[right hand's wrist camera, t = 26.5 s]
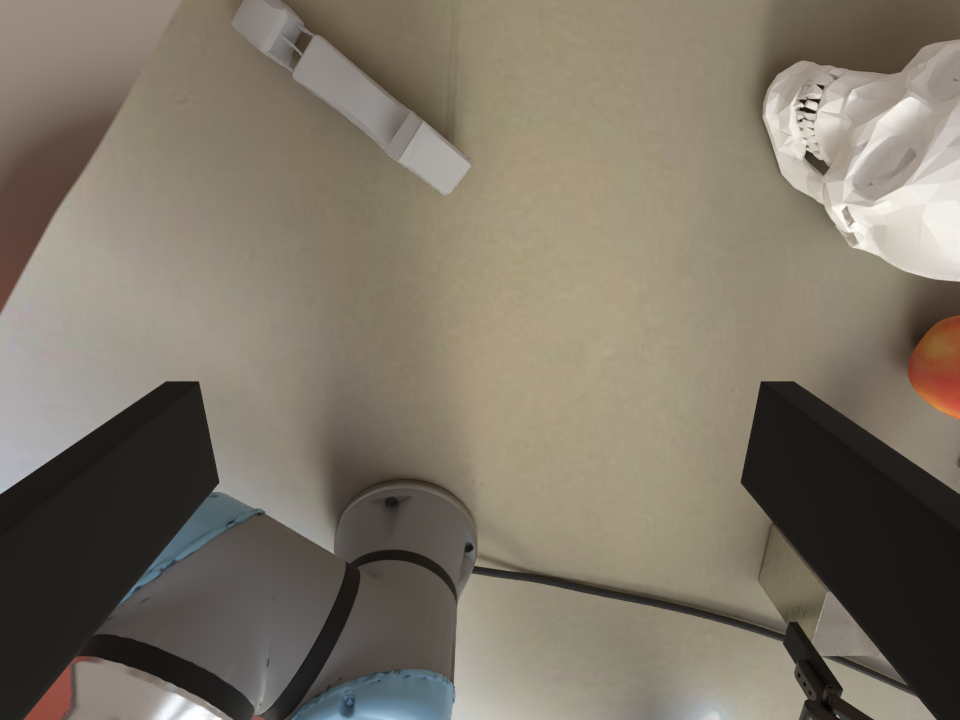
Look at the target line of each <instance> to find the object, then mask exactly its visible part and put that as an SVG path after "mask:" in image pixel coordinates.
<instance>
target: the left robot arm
mask: <svg viewBox="0 0 960 720" xmlns="http://www.w3.org/2000/svg"><path fill="white" fill-rule="evenodd" d="M783 645H784V646H785V648H786V649H787V651H788V653H789V654H790V656H791V658H792V659H793V661H794V662H795V664H796V667H795V671H794V674H795V678H796V680H797V681H798V683H799V685H800V686H801V688H802V690H803V691H804V693H805V695H806V696H807V698H808V700H806V701H805V702H804V705H803V708H802V712H801V715H800V718H799V720H873V719H872V718H870V717H869V716H867V715H866V714H864V713H863V712H861V711H859V710H858V709H856V708H855V707H853V706H852V705H850V704H849V703H847V702H846V701H844V700H843V699H841V698H840V697H841V694H842V691H843V688H842V687H841V685H840V684H839V682H838V681H837V680H836V678H835V677H834V675H833V674H832V672H831V671H830V669H829V668H828V666H827V665H826V663H825V662H824V660H823V659H822V657H821V656H820V654H819V653H818V652H817V650H816V649H815V647H814V646H813V644H812V643H811V641H810V640H809V638H808V637H807V635H806V634H805V632H804V631H803V629H802V628H801V627H800V625H799V624H798V622H789V624H788V627H787V631H786V634H785V638H784V641H783ZM836 715H838V716H839V717H840V719H839V718H838V717H836Z"/></svg>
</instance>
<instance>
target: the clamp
mask: <svg viewBox="0 0 960 720" xmlns="http://www.w3.org/2000/svg"><path fill="white" fill-rule="evenodd" d="M231 25H232V26H233V28H234V29H235V30H236V31H237V32H239V33H240V34H241V35H242V36H243V37H244V38H245V39H246V40H248V41H249V42H250V43H251V44H252V45H253V46H254V47H255V48H257V49H258V50H259V51H260V52H262V53H264V54H265V55H266V56H268V57H269V58H271V59H272V60H274V61H275V62H277V63H278V64H279V65H281V66H283V67H285V68H287V69H288V70H289V71H290V72H292V77H293V78H294V80H295V81H296V82H297V83H299V84H300V85H302V86H303V87H304V88H306V89H307V90H309V91H310V92H311V93H313V94H314V95H316V96H317V97H318V98H320V99H321V100H323V101H324V102H326V103H327V104H328V105H330V106H331V107H333V108H334V109H335V110H337V111H338V112H339V113H340V114H342V115H343V116H344V117H345V118H347V119H348V120H349V121H351V122H352V123H353V124H354V125H356V126H357V127H358V128H359V129H361V130H362V131H363V132H365V133H366V134H367V135H368V136H369V137H370V138H371V139H372V140H374V141H375V142H376V143H377V144H378V145H379V146H380V147H381V148H383V149H384V150H385V151H384V153H385V154H386V155H388V156H389V157H391V158H392V159H394V160H395V161H397V162H398V163H400V164H401V165H403V166H404V167H406V168H407V169H408V170H410V171H411V172H412V173H414V174H415V175H416V176H418V177H419V178H420V179H422V180H423V181H424V182H426V183H427V184H428V185H430V186H431V187H432V188H434V189H435V190H436V191H438V192H439V193H440V194H442V195H443V196H444V195H448V194H450V193H451V192H452V191H453V190H454V188H455V187H456V186H457V185H458V183H459V182H460V181H461V179H462V178H463V177H464V176H465V174H466V173H467V172H468V170H469V169H470V168H471V167H472V162H471V160H470V158H469V157H467V156H466V155H465V154H463V153H462V152H461V151H459V150H458V149H457V148H455V147H454V146H453V145H452V144H451V143H449V142H448V141H447V140H446V139H445V138H444V137H442V136H441V135H440V134H439V133H438V132H436V131H435V130H434V129H433V128H432V127H431V126H429V125H428V124H427V123H426V122H425V121H424V120H423V119H421V118H420V117H419V116H418V115H417V114H416V113H414V112H413V111H411V110H409V109H408V108H407V107H405V106H404V105H403V104H401V103H400V102H398V101H397V100H396V99H395V98H394V97H392V96H391V95H390V94H389V93H388V92H387V91H385V90H384V89H383V88H382V87H381V86H379V85H378V84H377V83H376V82H375V81H374V80H372V79H371V78H370V77H369V76H368V75H366V74H365V73H364V72H363V71H362V70H361V69H359V68H358V67H357V66H356V65H355V64H353V63H352V62H351V61H350V60H349V59H348V58H346V57H345V56H344V55H343V54H342V53H341V52H339V51H338V50H337V49H336V48H335V47H333V46H332V45H331V44H330V43H329V42H328V41H327V40H325V39H324V38H323V37H322V36H320V35H318V34H316V35H314V34H312V33H311V32H310V31H309V30H307V29H306V28H305V27H304V23H303V21H302V20H301V19H300V18H299V17H298V16H297V14H296V13H295V12H294V11H293V10H292V9H291V8H290V7H289V6H287V5H286V4H285V3H284V2H283V1H281V0H243V2H242V3H241V5H240V7H239V9H238V11H237V13H236V15H235V17H234V18H233V20H232V24H231ZM302 31H303V32H304V33H306V34H308V35H310V36H312V39H311V41H310V42H309V44H308V46H307V48H306V49H305V51H304V53H302V52H301V51H300V50H299V49H298V48H297V47H296V46H295V44H296V42H297V40H298V38H299V36H300V34H301V32H302ZM294 49H295V50H296V51H297V52H298V53H299V54H300V55H301V58H300V60H299V61H298V63H297V65H296V66H295V68H294V69H293V68H292V67H291V66H290V63H291V59H292V55H293V51H294Z"/></svg>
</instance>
